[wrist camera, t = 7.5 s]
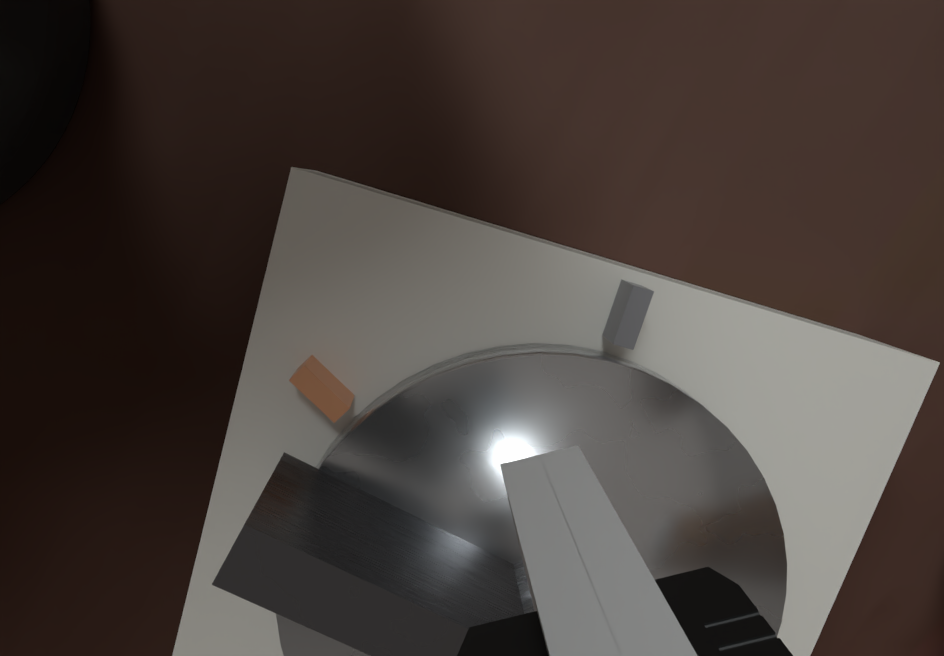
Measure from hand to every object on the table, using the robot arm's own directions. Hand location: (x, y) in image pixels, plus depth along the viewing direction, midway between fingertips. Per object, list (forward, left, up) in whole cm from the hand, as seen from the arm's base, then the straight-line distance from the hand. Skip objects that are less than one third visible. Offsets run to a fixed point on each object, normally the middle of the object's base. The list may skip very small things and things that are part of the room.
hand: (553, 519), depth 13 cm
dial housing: (+2, -5, -11) cm, 13 cm away
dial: (+2, -5, -7) cm, 9 cm away
